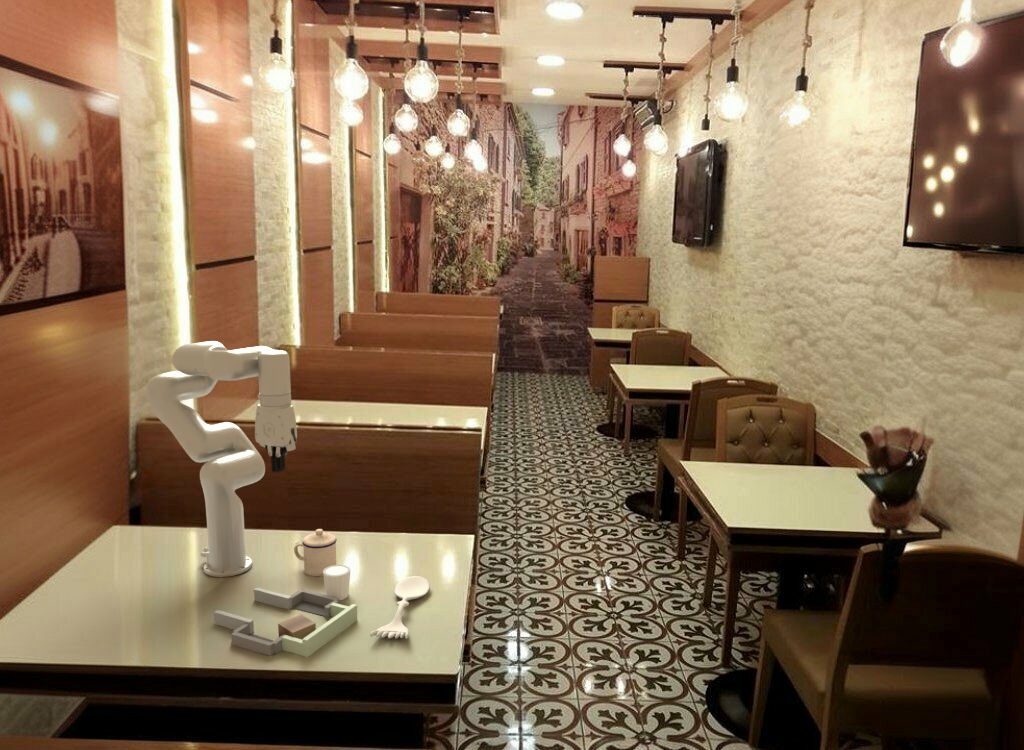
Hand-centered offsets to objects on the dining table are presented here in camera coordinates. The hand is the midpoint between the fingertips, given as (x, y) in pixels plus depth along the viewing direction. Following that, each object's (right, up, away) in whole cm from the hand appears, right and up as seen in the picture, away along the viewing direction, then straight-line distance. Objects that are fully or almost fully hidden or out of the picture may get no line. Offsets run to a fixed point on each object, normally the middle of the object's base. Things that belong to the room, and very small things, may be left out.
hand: (278, 470), depth 198 cm
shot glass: (+14, -33, +2) cm, 36 cm away
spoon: (+33, -35, -6) cm, 48 cm away
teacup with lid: (+5, -30, +18) cm, 35 cm away
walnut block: (+10, -37, -19) cm, 42 cm away
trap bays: (+6, -35, -13) cm, 38 cm away
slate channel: (+4, -35, -12) cm, 37 cm away
